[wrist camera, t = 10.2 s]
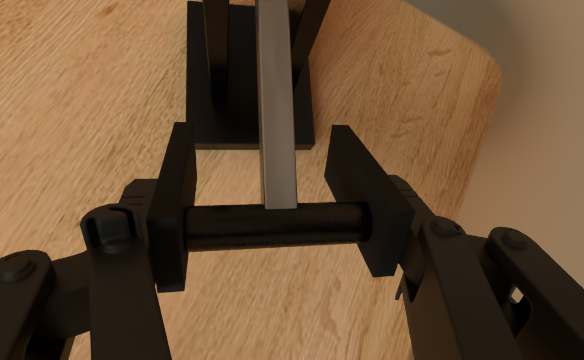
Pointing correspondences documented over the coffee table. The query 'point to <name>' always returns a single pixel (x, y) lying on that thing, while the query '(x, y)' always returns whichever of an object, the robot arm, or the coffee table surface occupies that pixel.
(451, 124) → the coffee table surface
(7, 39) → the coffee table surface
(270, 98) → the lever
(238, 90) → the bracket
